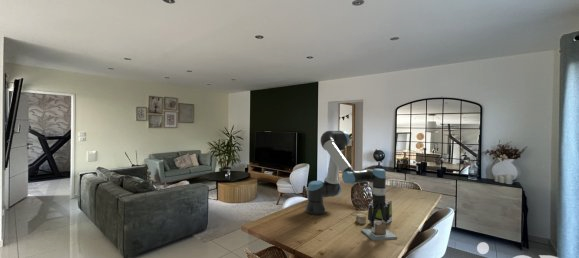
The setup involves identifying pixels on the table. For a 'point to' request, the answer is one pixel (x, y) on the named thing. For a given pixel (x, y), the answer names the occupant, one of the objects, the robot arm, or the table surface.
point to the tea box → (379, 215)
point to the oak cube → (360, 218)
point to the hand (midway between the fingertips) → (378, 231)
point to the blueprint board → (378, 237)
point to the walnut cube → (380, 227)
